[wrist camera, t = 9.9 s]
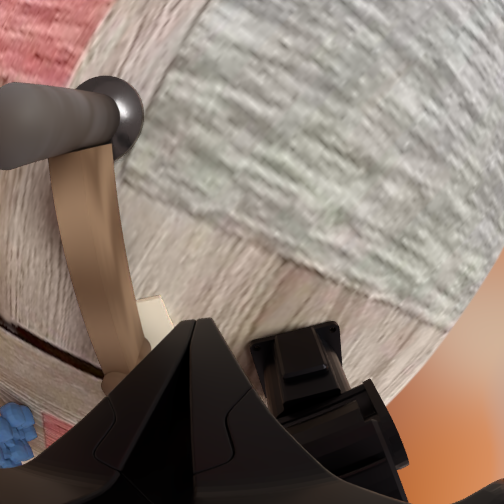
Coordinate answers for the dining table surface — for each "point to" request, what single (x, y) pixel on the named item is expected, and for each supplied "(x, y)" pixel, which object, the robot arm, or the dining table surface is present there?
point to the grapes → (15, 434)
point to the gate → (81, 208)
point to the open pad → (154, 319)
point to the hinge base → (127, 106)
